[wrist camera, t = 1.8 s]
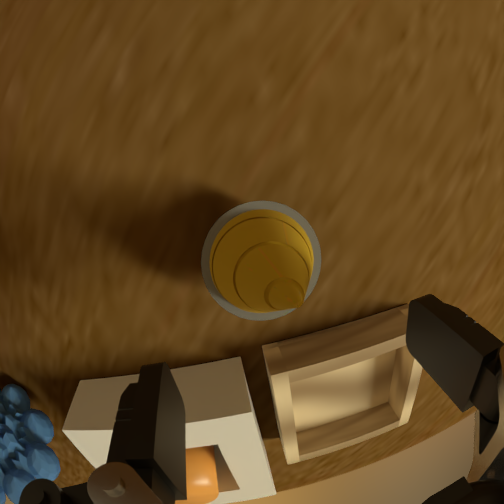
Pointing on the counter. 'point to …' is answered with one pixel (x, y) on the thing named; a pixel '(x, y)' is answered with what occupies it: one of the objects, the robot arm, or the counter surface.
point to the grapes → (23, 444)
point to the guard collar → (187, 424)
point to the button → (200, 476)
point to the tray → (342, 384)
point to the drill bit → (261, 260)
